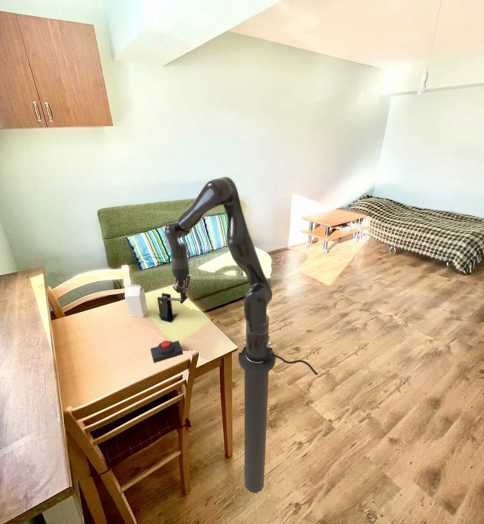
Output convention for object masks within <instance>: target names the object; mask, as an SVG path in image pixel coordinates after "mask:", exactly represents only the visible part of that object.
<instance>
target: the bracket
mask: <svg viewBox="0 0 484 524" xmlns="http://www.w3.org/2000/svg"><path fill="white" fill-rule="evenodd" d="M162 296H167V297H168V298H172V295H171V293H165V292H162V293H161V296H157V299H156V300H157V307H158V312H159V314H158V317H159V319H160V320H161V321H163V322H167V323H173V322H174V320H176V318H177V317H178V315H179V313H173V304H172V301H166V298H162Z"/></svg>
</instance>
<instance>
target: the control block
mask: <svg viewBox="0 0 484 524" xmlns="http://www.w3.org/2000/svg"><path fill="white" fill-rule="evenodd" d="M169 341H170V348H168V349H162V347H161V343H162V342H163V341H162V342H159V344H158V345H157V346H154V347H151V348H150V349H149V350H150V354H151V357H152V362H153V364H156V363H160V362H163V361H166V360H169V359H172V358H177V357H179V356H182V355H184V353H183V352H184V350H183V348H182V345H181V343H180V340H175V341H171V340H169Z"/></svg>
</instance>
